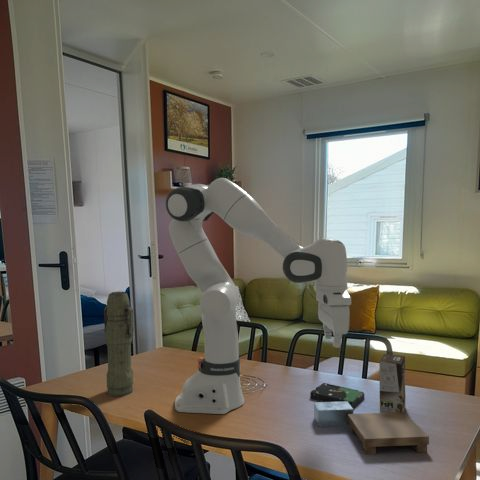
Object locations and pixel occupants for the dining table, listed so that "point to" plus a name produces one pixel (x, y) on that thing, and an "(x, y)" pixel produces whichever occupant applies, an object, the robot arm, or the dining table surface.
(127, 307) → the thermos
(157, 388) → the dining table surface
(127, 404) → the dining table surface
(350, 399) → the disk drive
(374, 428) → the stand
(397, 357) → the coffee box
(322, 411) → the block
